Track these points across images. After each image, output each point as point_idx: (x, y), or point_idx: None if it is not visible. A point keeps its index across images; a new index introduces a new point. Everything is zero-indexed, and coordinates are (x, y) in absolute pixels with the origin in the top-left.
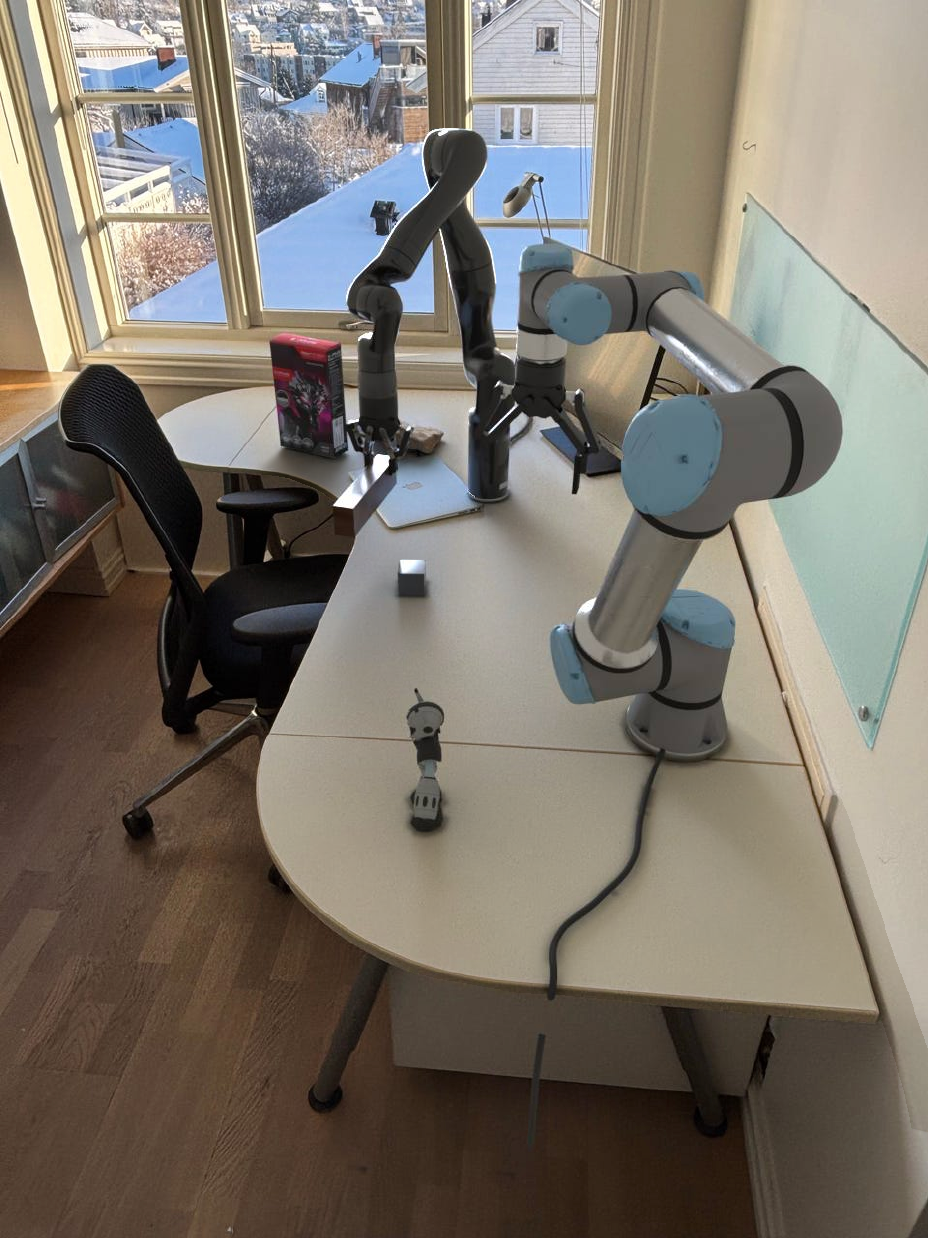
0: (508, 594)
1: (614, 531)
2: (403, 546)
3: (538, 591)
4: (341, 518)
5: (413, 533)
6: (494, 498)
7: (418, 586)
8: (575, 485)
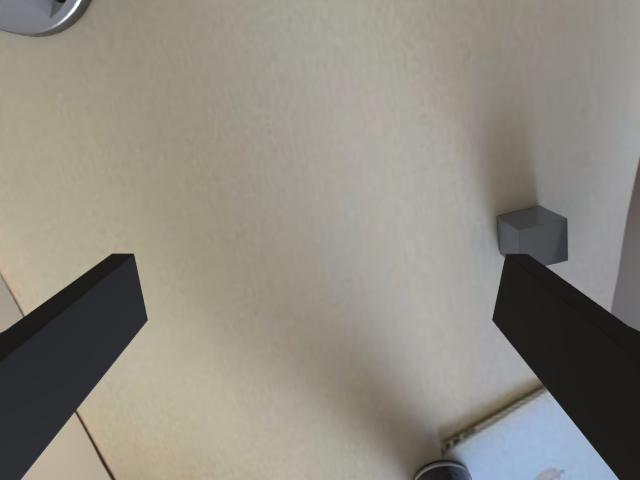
0: (366, 254)
1: (253, 436)
2: None
3: (324, 274)
4: None
5: None
6: (430, 469)
7: (515, 219)
8: (92, 273)
